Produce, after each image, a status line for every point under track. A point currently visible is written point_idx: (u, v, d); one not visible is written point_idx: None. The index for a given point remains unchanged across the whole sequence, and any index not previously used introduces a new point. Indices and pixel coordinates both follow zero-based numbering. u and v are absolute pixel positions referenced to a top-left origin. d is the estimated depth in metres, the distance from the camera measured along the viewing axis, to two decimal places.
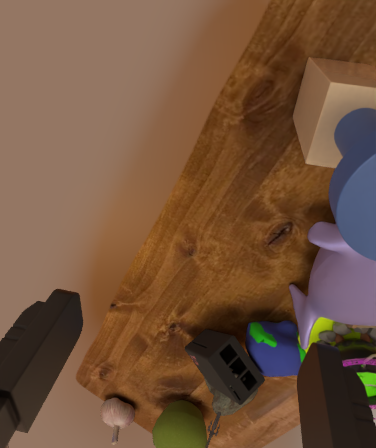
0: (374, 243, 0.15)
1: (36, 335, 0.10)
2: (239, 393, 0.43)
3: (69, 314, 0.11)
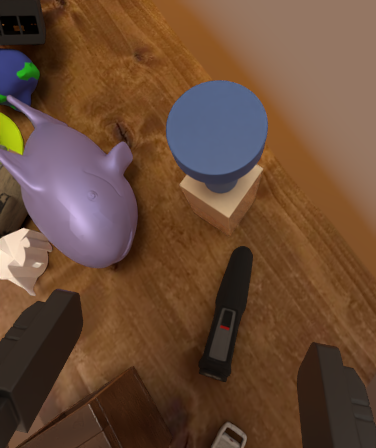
0: (196, 98, 0.21)
1: (36, 335, 0.10)
2: None
3: (69, 314, 0.11)
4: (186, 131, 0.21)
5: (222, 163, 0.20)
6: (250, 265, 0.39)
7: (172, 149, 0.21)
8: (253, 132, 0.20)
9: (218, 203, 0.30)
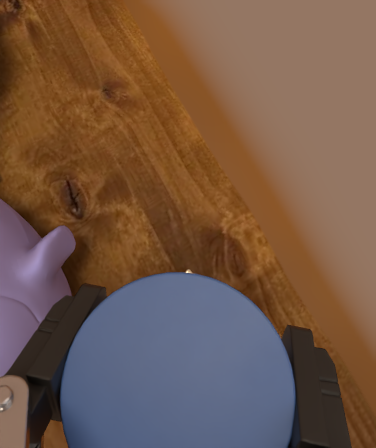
0: (139, 311, 0.09)
1: (69, 327, 0.10)
2: None
3: None
4: (106, 394, 0.09)
5: None
6: None
7: (68, 436, 0.09)
8: (260, 425, 0.09)
9: None
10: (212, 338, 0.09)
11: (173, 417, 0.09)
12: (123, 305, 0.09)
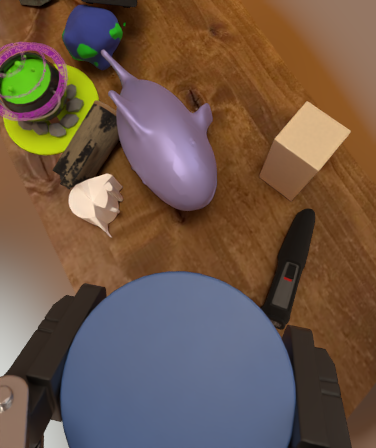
0: (139, 310, 0.09)
1: (69, 327, 0.10)
2: None
3: None
4: (106, 394, 0.09)
5: None
6: (313, 227, 0.43)
7: (68, 435, 0.09)
8: (260, 424, 0.09)
9: (309, 157, 0.34)
10: (212, 337, 0.09)
11: (173, 416, 0.09)
12: (123, 304, 0.09)
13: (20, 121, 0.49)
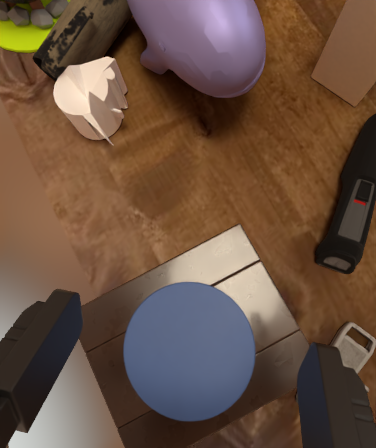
0: (167, 304, 0.16)
1: (36, 335, 0.10)
2: None
3: (69, 314, 0.11)
4: (149, 350, 0.16)
5: (191, 405, 0.15)
6: None
7: (128, 373, 0.16)
8: (235, 366, 0.16)
9: None
10: (209, 319, 0.16)
11: (187, 362, 0.16)
12: (158, 300, 0.17)
13: None
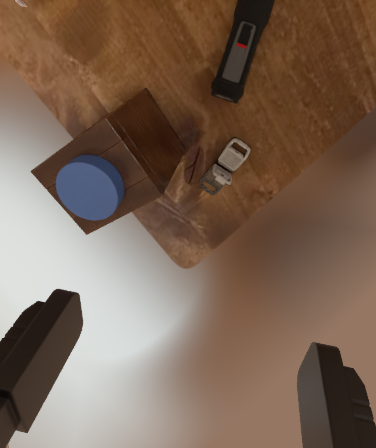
0: (70, 173, 0.32)
1: (36, 335, 0.10)
2: None
3: (68, 314, 0.11)
4: (69, 194, 0.33)
5: (94, 214, 0.34)
6: None
7: (63, 203, 0.34)
8: (109, 199, 0.32)
9: None
10: (92, 180, 0.32)
11: (87, 198, 0.33)
12: (65, 172, 0.32)
13: None
